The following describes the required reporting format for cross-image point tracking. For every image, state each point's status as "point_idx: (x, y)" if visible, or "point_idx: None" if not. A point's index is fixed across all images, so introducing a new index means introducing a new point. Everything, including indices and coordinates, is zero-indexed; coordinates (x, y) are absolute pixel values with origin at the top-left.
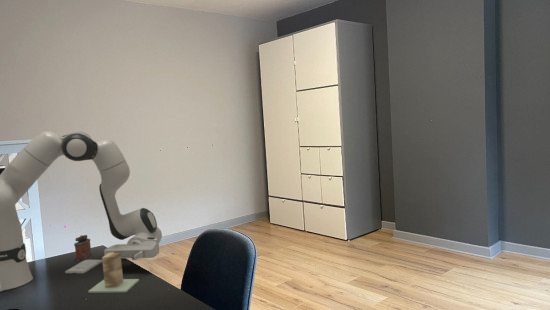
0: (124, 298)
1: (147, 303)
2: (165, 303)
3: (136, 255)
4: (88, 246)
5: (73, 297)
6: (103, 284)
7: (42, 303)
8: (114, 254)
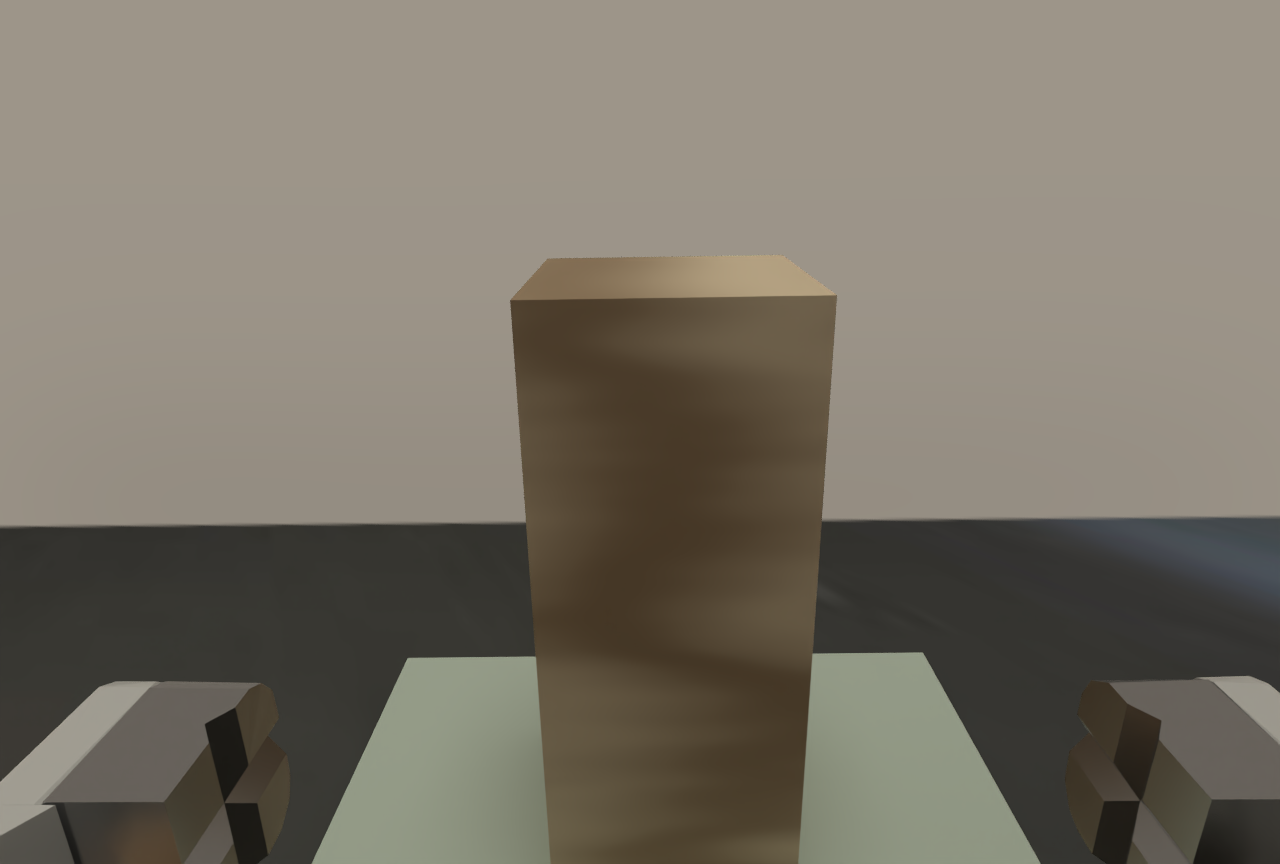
0: (398, 590)
1: (170, 541)
2: (12, 542)
3: (60, 747)
4: None
5: (986, 601)
6: (884, 811)
7: (1164, 534)
8: (607, 279)
